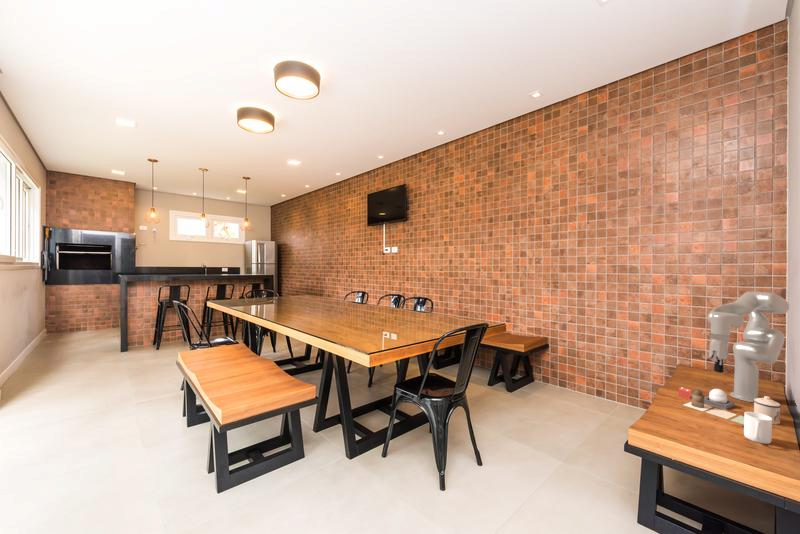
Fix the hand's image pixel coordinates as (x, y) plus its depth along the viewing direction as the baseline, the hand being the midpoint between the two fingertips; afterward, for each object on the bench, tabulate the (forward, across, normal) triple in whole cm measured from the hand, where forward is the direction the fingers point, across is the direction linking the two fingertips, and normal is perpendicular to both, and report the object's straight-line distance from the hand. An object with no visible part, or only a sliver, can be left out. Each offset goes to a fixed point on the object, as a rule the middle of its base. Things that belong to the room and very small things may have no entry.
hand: (718, 371), depth 181 cm
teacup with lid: (+18, -2, +18) cm, 26 cm away
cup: (+19, +30, +24) cm, 42 cm away
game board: (+18, +12, +6) cm, 23 cm away
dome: (+16, 0, 0) cm, 16 cm away
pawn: (+17, +12, -4) cm, 22 cm away
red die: (+18, +4, -13) cm, 23 cm away
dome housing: (+18, 0, 0) cm, 18 cm away
